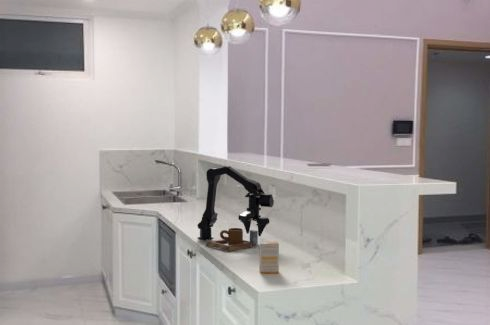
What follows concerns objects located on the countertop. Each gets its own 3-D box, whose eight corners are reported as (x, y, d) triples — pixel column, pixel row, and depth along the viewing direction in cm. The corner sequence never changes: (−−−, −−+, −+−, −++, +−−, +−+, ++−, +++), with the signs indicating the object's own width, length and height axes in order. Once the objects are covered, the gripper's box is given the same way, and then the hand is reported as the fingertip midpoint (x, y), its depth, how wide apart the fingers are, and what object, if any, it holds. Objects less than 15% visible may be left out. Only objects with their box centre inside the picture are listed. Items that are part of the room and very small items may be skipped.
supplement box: (277, 270, 246) (278, 241, 246) (278, 273, 242) (279, 243, 241) (258, 270, 246) (259, 241, 245) (259, 273, 241) (260, 243, 240)
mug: (221, 249, 286) (221, 231, 285) (218, 246, 294) (218, 228, 293) (244, 248, 289) (244, 230, 288) (240, 245, 296) (241, 227, 296)
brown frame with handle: (206, 245, 294) (206, 231, 293) (239, 239, 310) (239, 226, 309) (228, 251, 281) (228, 237, 280) (262, 244, 296) (262, 231, 296)
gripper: (231, 205, 299) (230, 234, 300) (254, 209, 285) (254, 239, 286) (246, 203, 307) (246, 231, 308) (270, 207, 293) (269, 237, 294)
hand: (253, 234), depth 299 cm, fingers open, 9 cm apart
